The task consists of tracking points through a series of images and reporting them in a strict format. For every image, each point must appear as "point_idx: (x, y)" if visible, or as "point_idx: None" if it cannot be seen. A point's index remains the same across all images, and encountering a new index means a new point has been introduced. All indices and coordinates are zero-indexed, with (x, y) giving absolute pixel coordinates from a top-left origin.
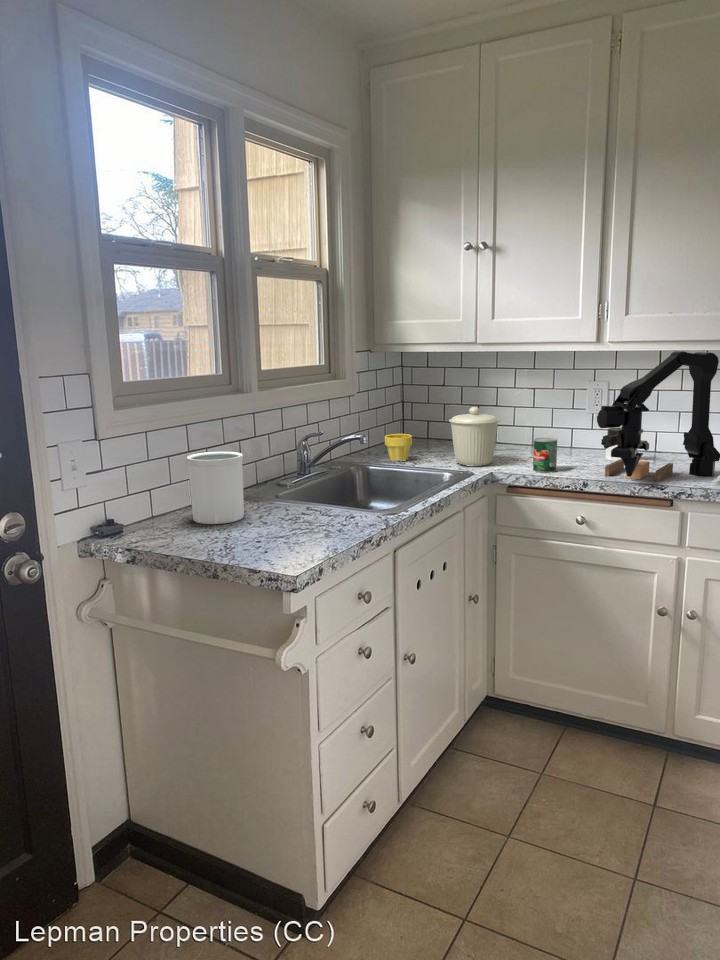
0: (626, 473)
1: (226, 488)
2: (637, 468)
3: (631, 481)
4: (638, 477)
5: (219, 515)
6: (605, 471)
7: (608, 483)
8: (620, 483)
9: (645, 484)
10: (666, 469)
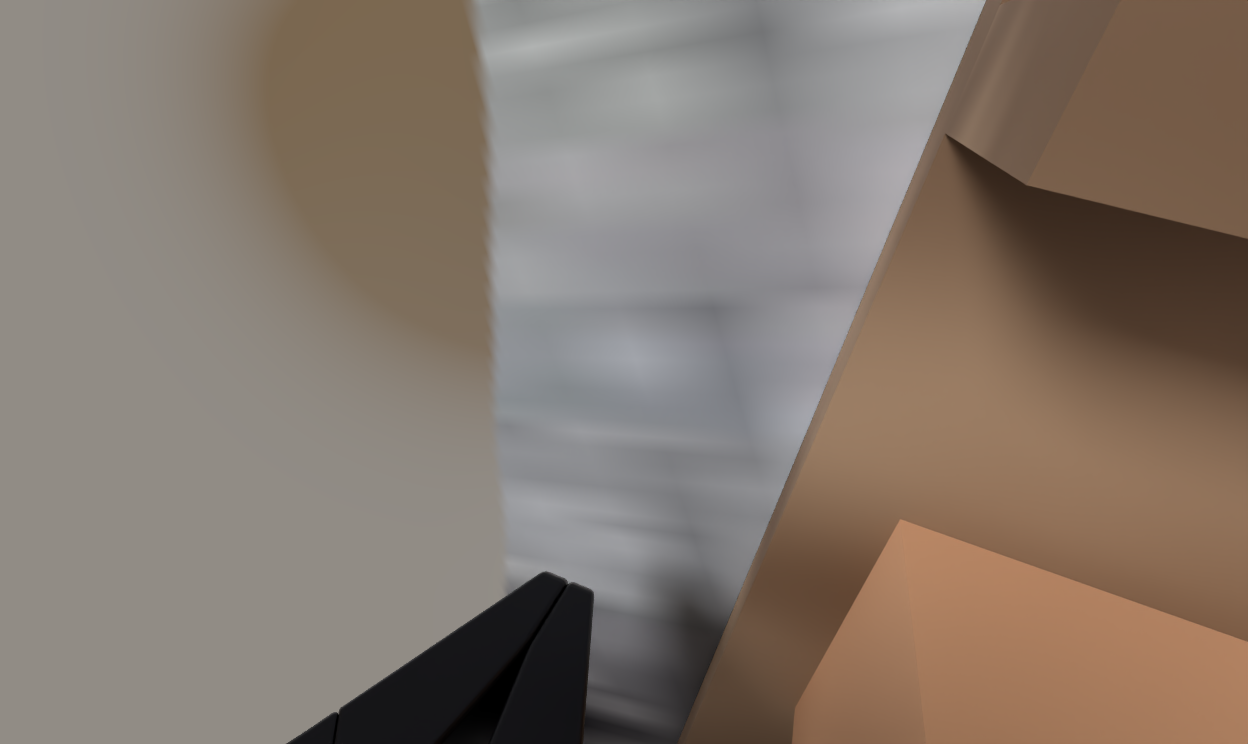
0: (905, 605)
1: None
2: None
3: None
4: (805, 715)
5: None
6: (1035, 2)
7: (570, 163)
8: (642, 381)
9: (677, 685)
10: None
